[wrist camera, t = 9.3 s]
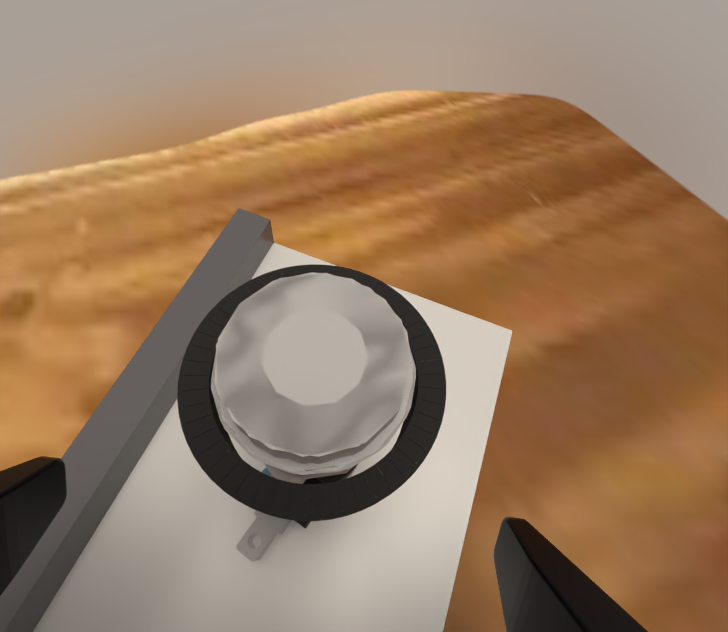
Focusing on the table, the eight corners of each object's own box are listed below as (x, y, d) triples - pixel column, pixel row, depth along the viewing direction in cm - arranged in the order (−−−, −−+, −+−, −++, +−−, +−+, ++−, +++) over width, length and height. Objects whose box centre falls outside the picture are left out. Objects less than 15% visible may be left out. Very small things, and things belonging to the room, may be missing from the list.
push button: (310, 603, 14) (295, 702, 5) (191, 505, 15) (16, 456, 6) (411, 437, 17) (507, 326, 8) (305, 364, 18) (290, 198, 9)
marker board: (380, 864, 12) (393, 934, 10) (-34, 655, 13) (-103, 676, 11) (505, 338, 21) (528, 313, 18) (243, 240, 22) (234, 206, 20)
